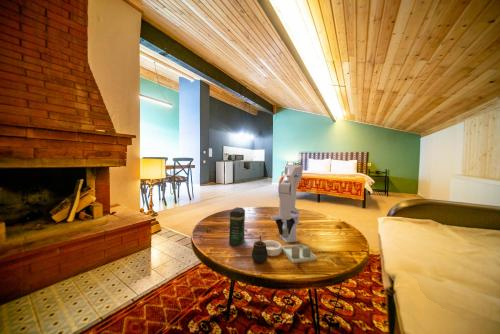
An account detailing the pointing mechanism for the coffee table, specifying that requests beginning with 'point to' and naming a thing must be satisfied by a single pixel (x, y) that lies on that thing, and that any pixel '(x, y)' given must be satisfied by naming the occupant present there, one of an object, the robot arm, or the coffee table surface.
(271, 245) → the bowl
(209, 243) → the coffee table surface
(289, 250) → the tray
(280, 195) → the robot arm
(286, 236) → the grey rounded cylinder
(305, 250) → the pebble
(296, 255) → the pebble
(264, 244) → the mate gourd
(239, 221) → the coffee jar
